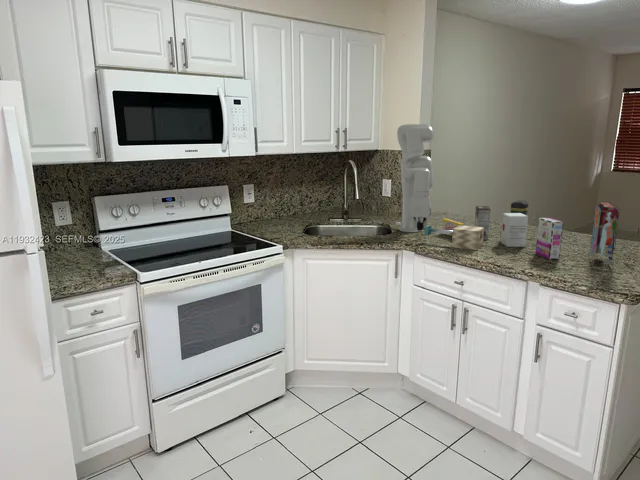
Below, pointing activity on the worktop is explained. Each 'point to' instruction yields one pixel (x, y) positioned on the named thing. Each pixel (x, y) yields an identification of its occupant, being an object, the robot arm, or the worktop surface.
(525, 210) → the coffee jar
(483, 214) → the coffee box
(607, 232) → the box
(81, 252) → the worktop surface
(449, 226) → the candy box
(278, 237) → the worktop surface
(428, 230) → the teal and silver rod
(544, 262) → the worktop surface
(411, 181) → the robot arm
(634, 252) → the worktop surface
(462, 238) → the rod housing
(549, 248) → the candy bar box
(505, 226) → the supplement box
